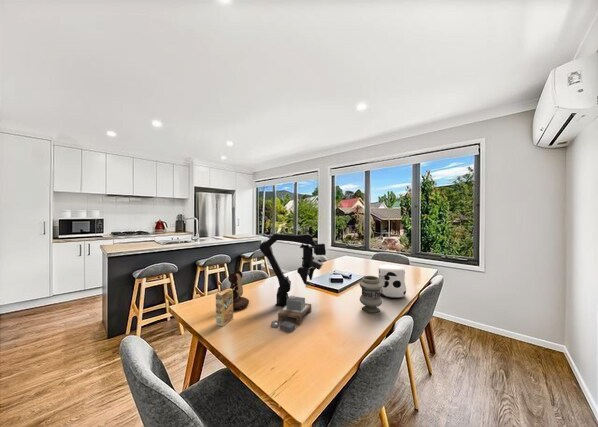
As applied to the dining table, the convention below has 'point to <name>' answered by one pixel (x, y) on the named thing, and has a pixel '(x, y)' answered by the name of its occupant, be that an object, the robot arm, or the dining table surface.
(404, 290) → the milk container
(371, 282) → the apothecary jar
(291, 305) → the housing
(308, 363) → the dining table surface
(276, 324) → the steel nut
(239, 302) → the brown wooden figurine
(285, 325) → the rubber block
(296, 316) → the walnut stand
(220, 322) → the candy box
